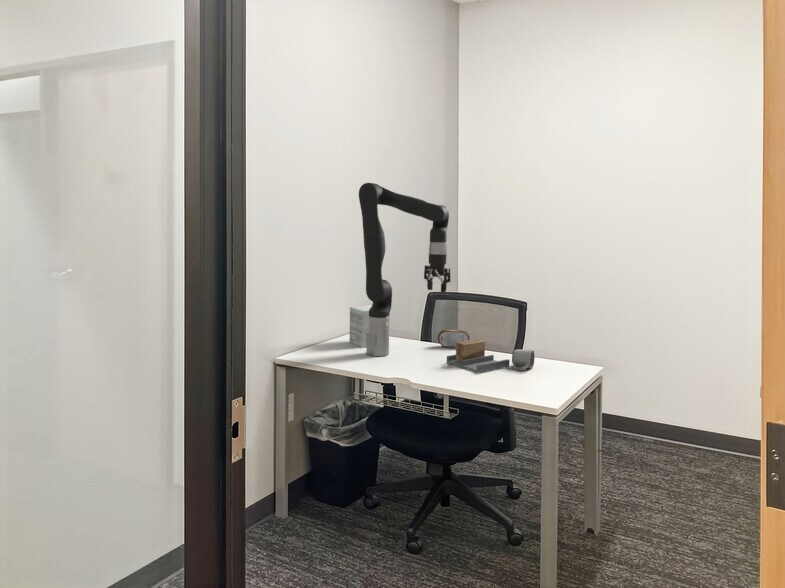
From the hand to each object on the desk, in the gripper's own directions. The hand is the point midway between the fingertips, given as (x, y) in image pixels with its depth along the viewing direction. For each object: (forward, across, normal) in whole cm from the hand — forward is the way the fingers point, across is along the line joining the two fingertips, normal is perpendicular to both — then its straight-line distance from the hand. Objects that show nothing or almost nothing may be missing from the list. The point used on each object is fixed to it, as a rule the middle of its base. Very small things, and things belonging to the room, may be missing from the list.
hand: (436, 291), depth 261 cm
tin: (+30, -14, +24) cm, 41 cm away
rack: (+30, +16, +10) cm, 36 cm away
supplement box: (+30, -42, -6) cm, 52 cm away
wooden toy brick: (+29, +12, +10) cm, 33 cm away
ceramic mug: (+30, +30, +22) cm, 48 cm away
